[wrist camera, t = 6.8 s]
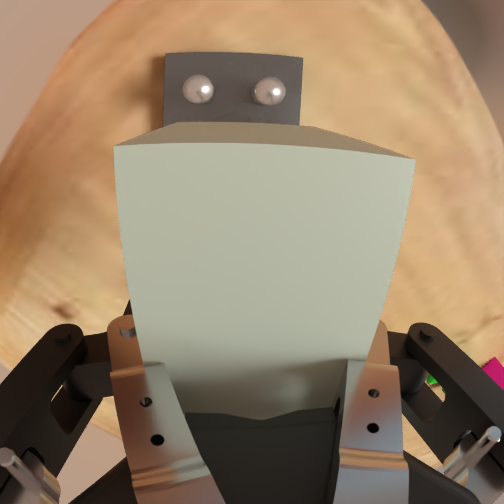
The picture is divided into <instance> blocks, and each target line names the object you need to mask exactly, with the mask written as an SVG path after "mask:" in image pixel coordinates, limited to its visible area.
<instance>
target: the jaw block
mask: <svg viewBox="0 0 504 504" xmlns="http://www.w3.org/2000/svg"><path fill="white" fill-rule="evenodd" d="M113 147H114V168H115V183H116V196H117V208H118V218H119V227H120V236H121V244H122V252H123V259H124V266H125V273H126V279H127V285H128V291H129V297H130V303H131V308H132V313H133V319H134V324H135V329H136V333H137V338H138V343H139V347H140V352H141V356H142V360H143V365H144V366H147V365H153V364H158V363H164V364H165V366H166V369H167V371H168V374H169V377H170V380H171V383H172V385H173V388H174V391H175V394H176V396H177V399H178V402H179V404H180V407H181V409H182V412H183V414H184V417H185V412H187V413H224V414H229V415H234V416H239V417H245V418H250V419H256V420H265V419H269V418H273V417H276V416H280V415H283V414H287V413H290V412H294V411H297V410H306V409H316V408H326V407H331V405H332V402H333V400H334V397H335V394H336V391H337V389H338V386H339V383H340V380H341V377H342V374H343V371H344V368H345V365H346V362H347V359H354V360H361V361H366V359H367V356H368V353H369V350H370V347H371V344H372V342H373V339H374V336H375V333H376V329H377V326H378V323H379V320H380V317H381V314H382V310H383V307H384V304H385V300H386V297H387V293H388V290H389V286H390V283H391V279H392V275H393V271H394V267H395V264H396V260H397V255H398V251H399V247H400V243H401V238H402V234H403V229H404V225H405V220H406V215H407V210H408V205H409V199H410V194H411V188H412V182H413V176H414V170H415V163H416V160H415V159H413V158H410V157H407V156H405V155H402V154H399V153H396V152H394V151H391V150H388V149H385V148H382V147H379V146H376V145H373V144H370V143H367V142H364V141H361V140H358V139H355V138H351V137H348V136H345V135H341V134H338V133H334V132H331V131H327V130H324V129H320V128H316V127H310V126H299V125H285V124H269V123H247V122H176V123H173V124H170V125H168V126H165V127H162V128H159V129H156V130H154V131H151V132H148V133H145V134H143V135H140V136H137V137H135V138H132V139H130V140H127V141H125V142H122V143H120V144H117V145H115V146H113Z"/></svg>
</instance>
